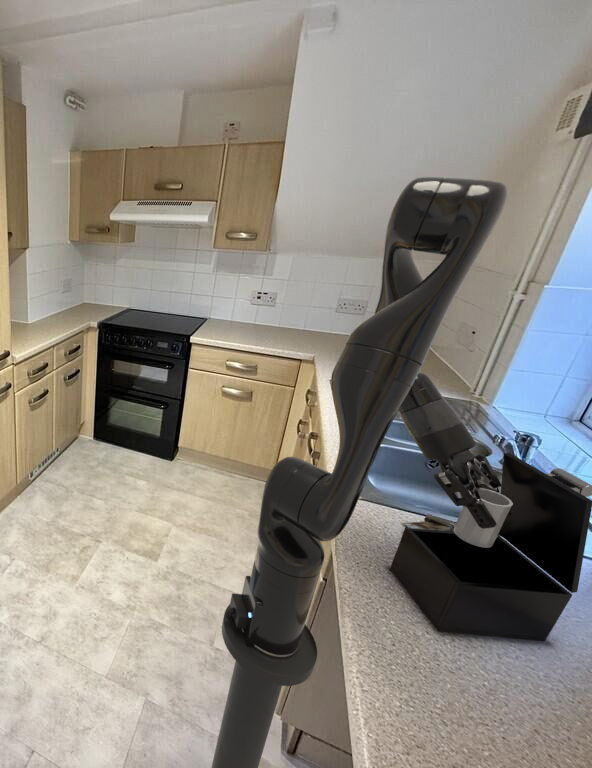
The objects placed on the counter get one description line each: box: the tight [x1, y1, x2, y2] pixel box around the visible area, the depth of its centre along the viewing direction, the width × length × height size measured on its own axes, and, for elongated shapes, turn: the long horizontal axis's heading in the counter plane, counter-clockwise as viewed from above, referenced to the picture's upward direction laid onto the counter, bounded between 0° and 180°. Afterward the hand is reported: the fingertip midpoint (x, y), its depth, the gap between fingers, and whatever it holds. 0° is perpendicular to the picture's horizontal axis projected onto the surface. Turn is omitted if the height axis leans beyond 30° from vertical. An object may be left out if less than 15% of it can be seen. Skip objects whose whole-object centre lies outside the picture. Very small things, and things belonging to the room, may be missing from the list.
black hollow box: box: [389, 527, 573, 642], centre depth 73 cm, size 17×14×10 cm
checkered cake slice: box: [405, 513, 456, 531], centre depth 89 cm, size 10×7×12 cm
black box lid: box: [499, 452, 592, 594], centre depth 67 cm, size 17×14×5 cm
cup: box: [454, 488, 513, 548], centre depth 71 cm, size 5×5×8 cm
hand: (496, 521), depth 69 cm, fingers closed on cup, 5 cm apart
